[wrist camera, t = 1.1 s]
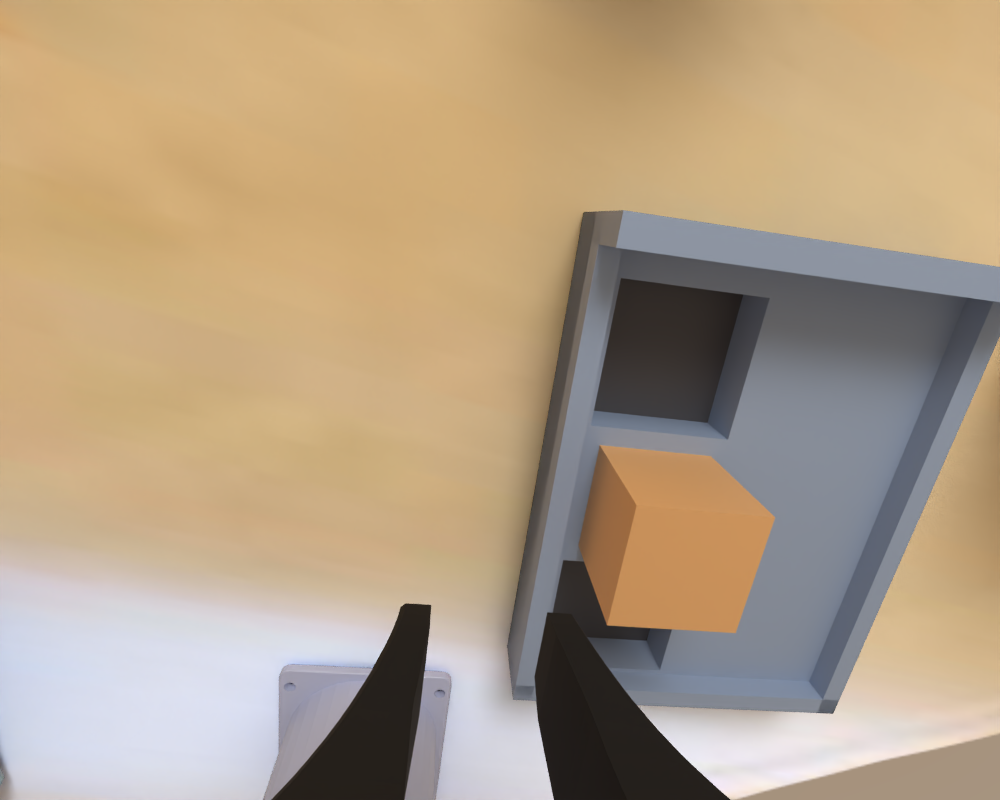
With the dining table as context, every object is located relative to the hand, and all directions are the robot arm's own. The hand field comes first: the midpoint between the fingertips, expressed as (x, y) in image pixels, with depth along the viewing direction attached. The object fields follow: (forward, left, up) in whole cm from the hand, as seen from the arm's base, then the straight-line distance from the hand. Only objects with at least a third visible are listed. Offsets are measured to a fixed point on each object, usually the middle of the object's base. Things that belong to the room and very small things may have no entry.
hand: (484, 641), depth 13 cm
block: (0, -7, -8) cm, 10 cm away
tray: (+1, -10, -10) cm, 14 cm away
